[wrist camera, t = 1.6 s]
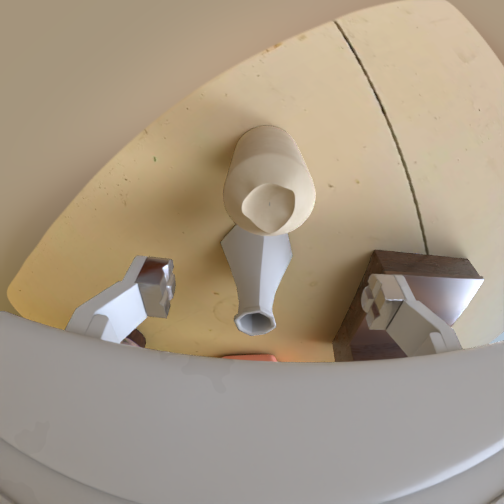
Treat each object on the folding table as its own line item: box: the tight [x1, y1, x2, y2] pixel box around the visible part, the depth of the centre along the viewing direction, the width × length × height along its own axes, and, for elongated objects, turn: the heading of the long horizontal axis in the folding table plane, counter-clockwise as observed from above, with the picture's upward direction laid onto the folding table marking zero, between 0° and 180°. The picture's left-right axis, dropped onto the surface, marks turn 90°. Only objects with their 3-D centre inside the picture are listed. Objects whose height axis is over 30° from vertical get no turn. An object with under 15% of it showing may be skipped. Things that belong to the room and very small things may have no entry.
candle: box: [223, 126, 316, 236], centre depth 19 cm, size 6×6×10 cm
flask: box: [220, 224, 292, 336], centre depth 25 cm, size 7×7×10 cm
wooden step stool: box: [332, 250, 484, 362], centre depth 30 cm, size 18×16×12 cm
